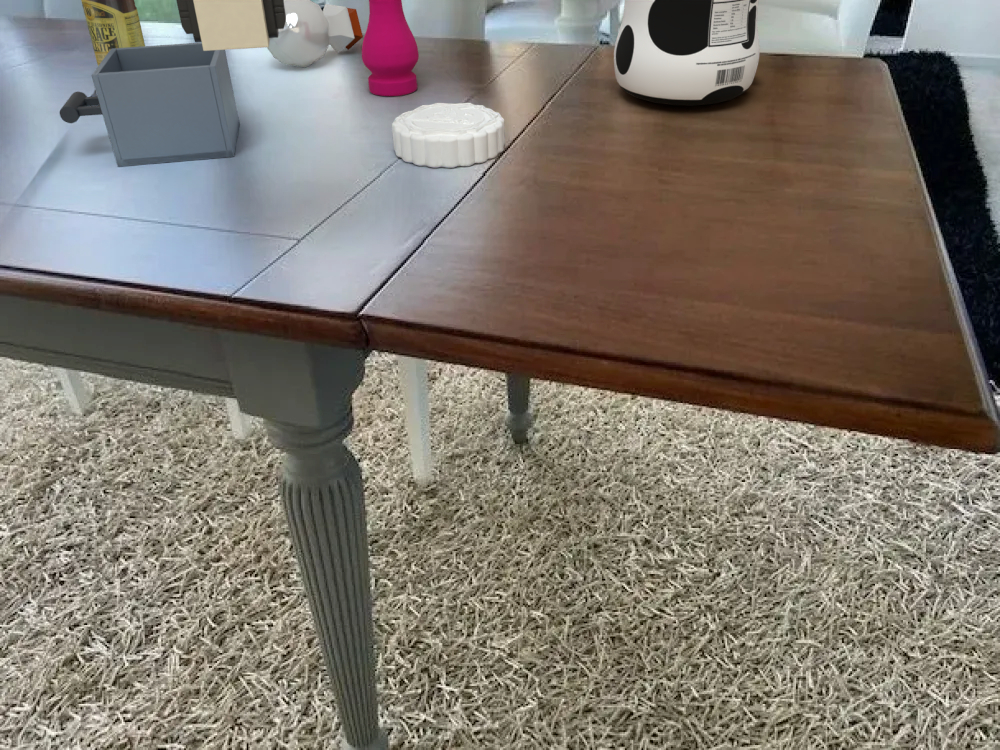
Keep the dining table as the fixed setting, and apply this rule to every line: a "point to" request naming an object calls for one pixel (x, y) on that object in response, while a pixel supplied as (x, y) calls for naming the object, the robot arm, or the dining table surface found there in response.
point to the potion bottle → (314, 32)
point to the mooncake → (448, 135)
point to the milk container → (687, 50)
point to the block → (231, 24)
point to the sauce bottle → (112, 25)
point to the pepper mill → (389, 50)
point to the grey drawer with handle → (162, 104)
